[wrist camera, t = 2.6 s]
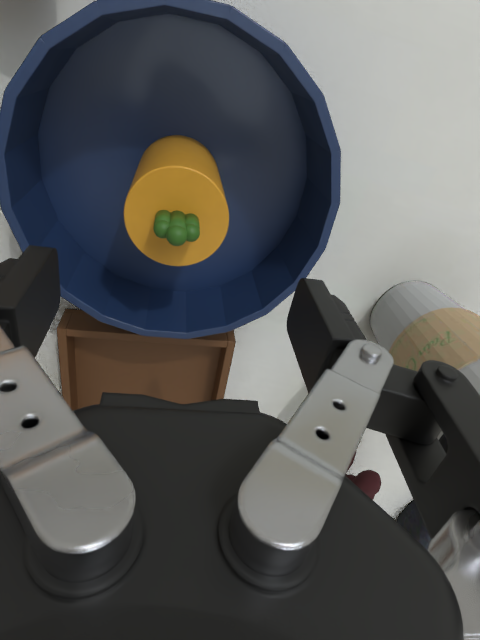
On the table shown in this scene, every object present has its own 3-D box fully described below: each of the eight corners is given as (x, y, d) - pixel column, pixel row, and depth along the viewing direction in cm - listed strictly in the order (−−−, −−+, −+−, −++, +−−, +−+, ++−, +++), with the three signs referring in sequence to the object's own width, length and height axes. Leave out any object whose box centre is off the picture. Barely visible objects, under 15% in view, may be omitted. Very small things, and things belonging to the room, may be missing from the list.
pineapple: (136, 211, 25) (115, 284, 18) (139, 127, 22) (117, 171, 15) (212, 221, 26) (224, 294, 18) (224, 142, 23) (243, 190, 16)
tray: (73, 432, 36) (67, 455, 34) (65, 308, 29) (56, 328, 27) (209, 435, 38) (210, 458, 36) (232, 322, 31) (235, 341, 29)
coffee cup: (358, 263, 29) (483, 421, 17) (480, 255, 30) (681, 400, 18) (341, 361, 35) (427, 535, 23) (445, 352, 36) (582, 515, 23)
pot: (44, 280, 28) (18, 326, 23) (14, -36, 19) (-40, -60, 14) (278, 303, 31) (294, 347, 26) (348, 43, 22) (391, 43, 17)
